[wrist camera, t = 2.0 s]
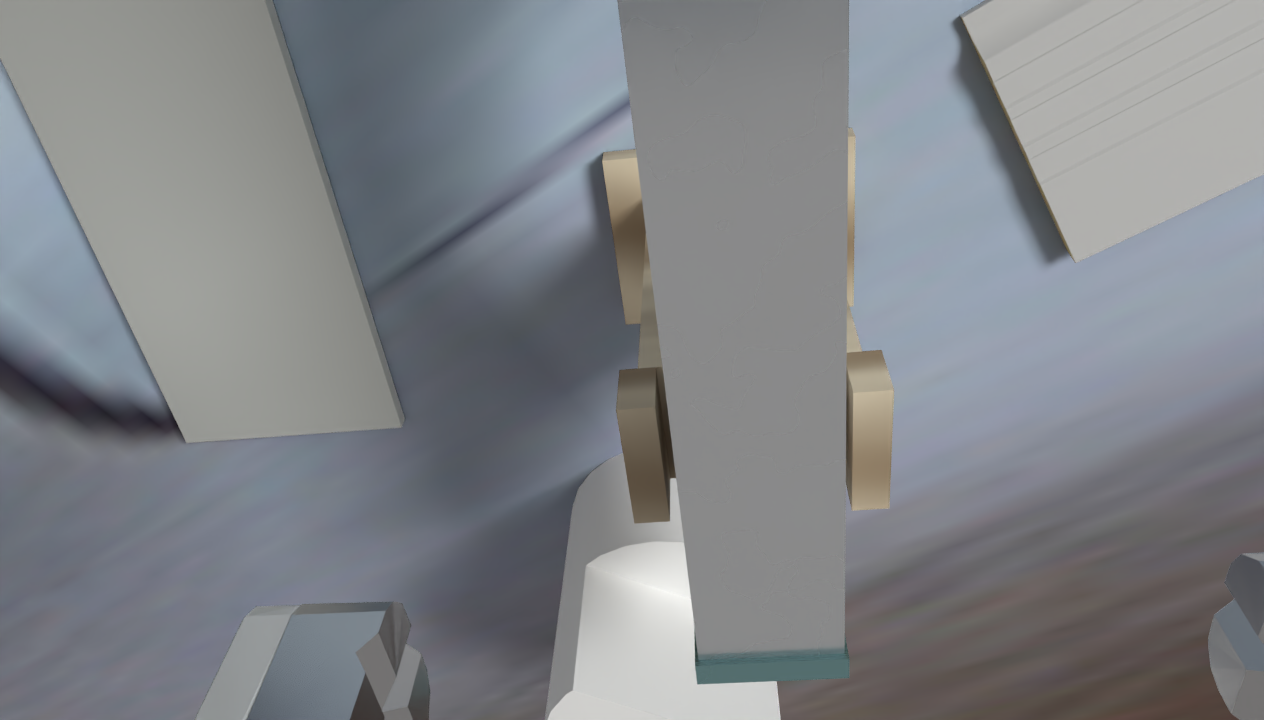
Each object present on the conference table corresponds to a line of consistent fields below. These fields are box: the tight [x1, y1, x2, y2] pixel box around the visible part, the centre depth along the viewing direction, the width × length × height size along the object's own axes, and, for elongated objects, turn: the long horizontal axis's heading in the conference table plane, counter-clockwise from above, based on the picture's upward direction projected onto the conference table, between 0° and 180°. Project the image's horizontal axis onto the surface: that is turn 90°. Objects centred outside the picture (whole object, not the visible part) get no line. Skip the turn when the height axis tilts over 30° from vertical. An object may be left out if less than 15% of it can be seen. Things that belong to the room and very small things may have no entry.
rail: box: [617, 0, 849, 684], centre depth 20 cm, size 30×4×4 cm, turn 7°
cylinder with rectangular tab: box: [545, 453, 780, 720], centre depth 41 cm, size 9×9×12 cm
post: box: [602, 128, 894, 524], centre depth 31 cm, size 7×9×14 cm
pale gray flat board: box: [0, 0, 405, 443], centre depth 34 cm, size 34×10×1 cm, turn 7°
